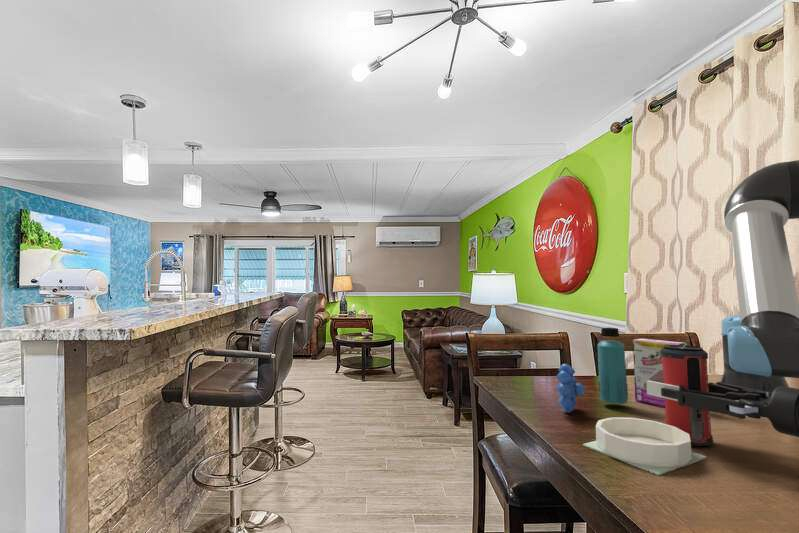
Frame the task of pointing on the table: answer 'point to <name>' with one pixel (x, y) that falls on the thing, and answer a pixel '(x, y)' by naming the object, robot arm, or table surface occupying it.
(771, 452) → the table surface
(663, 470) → the mat
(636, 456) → the bowl
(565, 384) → the grapes
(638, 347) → the candy bar box
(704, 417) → the speaker
